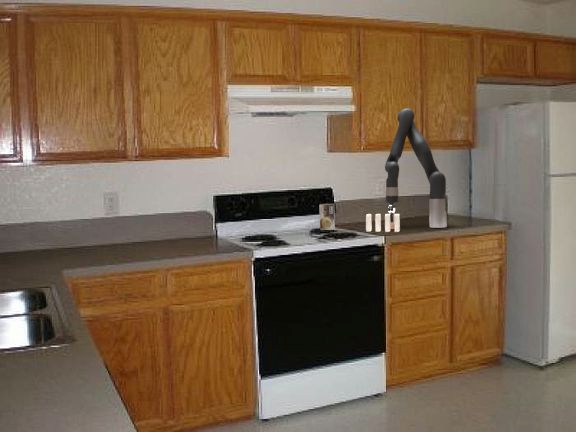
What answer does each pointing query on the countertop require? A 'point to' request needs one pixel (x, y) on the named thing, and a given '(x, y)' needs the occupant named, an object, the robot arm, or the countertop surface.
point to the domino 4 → (392, 223)
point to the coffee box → (327, 217)
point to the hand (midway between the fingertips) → (392, 221)
